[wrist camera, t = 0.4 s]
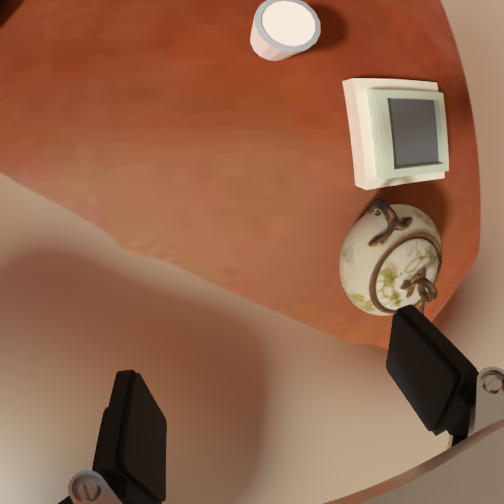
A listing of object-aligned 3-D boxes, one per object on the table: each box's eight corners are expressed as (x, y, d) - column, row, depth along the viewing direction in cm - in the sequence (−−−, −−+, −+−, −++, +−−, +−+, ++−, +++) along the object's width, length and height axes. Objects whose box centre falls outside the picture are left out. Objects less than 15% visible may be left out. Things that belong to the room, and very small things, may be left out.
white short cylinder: (240, 19, 28) (248, -3, 22) (294, 15, 29) (313, -5, 22) (250, 68, 31) (261, 55, 25) (305, 63, 31) (327, 50, 25)
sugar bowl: (421, 267, 46) (479, 313, 32) (349, 316, 47) (394, 379, 33) (387, 160, 38) (464, 181, 24) (297, 213, 39) (348, 260, 25)
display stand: (342, 81, 33) (364, 75, 28) (424, 83, 34) (449, 81, 29) (355, 185, 38) (377, 194, 33) (431, 174, 39) (456, 181, 34)
